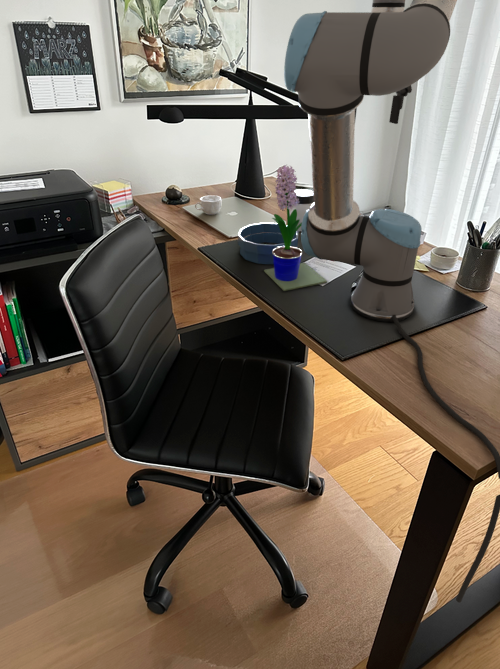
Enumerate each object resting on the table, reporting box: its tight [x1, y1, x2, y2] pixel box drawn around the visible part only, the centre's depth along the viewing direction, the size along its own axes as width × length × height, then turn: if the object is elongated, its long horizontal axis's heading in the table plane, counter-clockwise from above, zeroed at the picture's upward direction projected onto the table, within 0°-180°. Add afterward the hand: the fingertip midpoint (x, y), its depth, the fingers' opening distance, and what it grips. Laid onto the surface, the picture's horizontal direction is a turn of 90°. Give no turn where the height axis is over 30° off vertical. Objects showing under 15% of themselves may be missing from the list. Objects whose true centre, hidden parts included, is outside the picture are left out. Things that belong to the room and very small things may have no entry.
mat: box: [263, 262, 328, 292], centre depth 132 cm, size 13×13×1 cm
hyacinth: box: [271, 164, 303, 281], centre depth 123 cm, size 9×10×30 cm
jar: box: [289, 188, 314, 232], centre depth 161 cm, size 9×8×12 cm
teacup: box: [194, 194, 222, 216], centre depth 174 cm, size 10×8×5 cm
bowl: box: [237, 222, 300, 265], centre depth 144 cm, size 18×18×6 cm
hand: (372, 124), depth 125 cm, fingers open, 13 cm apart
